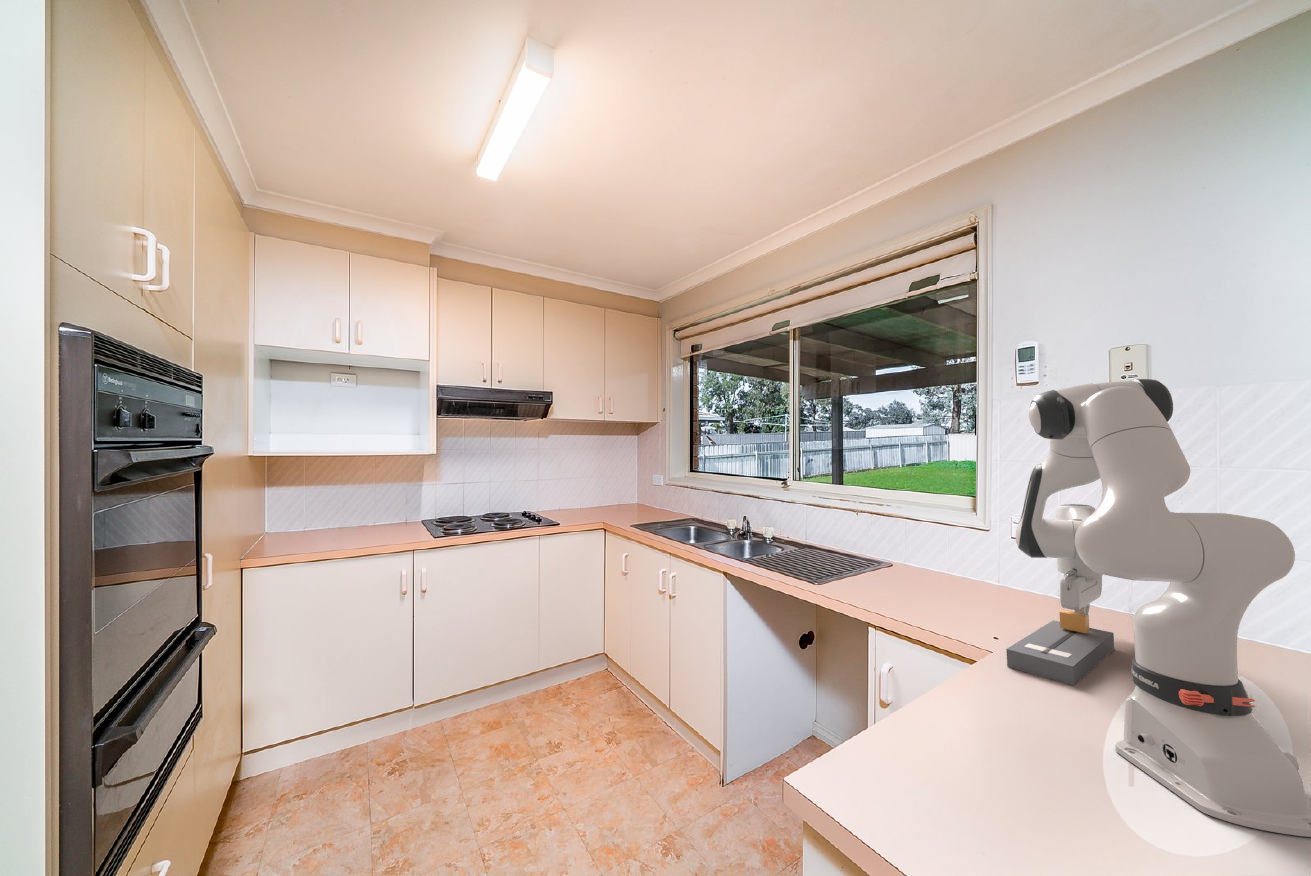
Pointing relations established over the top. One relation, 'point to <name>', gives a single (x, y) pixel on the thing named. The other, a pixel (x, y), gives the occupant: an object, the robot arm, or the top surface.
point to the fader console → (1060, 652)
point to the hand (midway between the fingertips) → (1082, 620)
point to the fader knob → (1074, 621)
